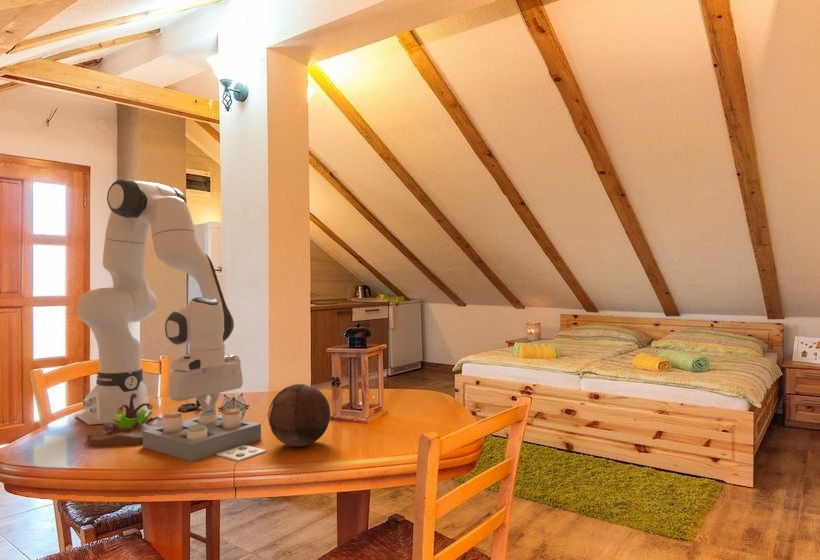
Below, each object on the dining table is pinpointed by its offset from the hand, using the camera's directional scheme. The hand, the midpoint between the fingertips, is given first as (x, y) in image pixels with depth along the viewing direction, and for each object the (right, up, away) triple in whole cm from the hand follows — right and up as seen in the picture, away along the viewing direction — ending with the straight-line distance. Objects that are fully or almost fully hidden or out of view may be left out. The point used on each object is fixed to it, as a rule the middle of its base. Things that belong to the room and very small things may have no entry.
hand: (208, 411), depth 147 cm
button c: (+2, -6, -14) cm, 15 cm away
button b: (0, -6, 0) cm, 6 cm away
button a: (-6, -4, -8) cm, 11 cm away
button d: (+8, -4, -6) cm, 11 cm away
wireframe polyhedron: (+3, -6, +13) cm, 15 cm away
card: (+13, -6, -15) cm, 21 cm away
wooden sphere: (+26, -6, -10) cm, 28 cm away
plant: (-21, -7, +1) cm, 22 cm away
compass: (-16, -7, +28) cm, 33 cm away
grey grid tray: (+1, -6, -7) cm, 9 cm away
